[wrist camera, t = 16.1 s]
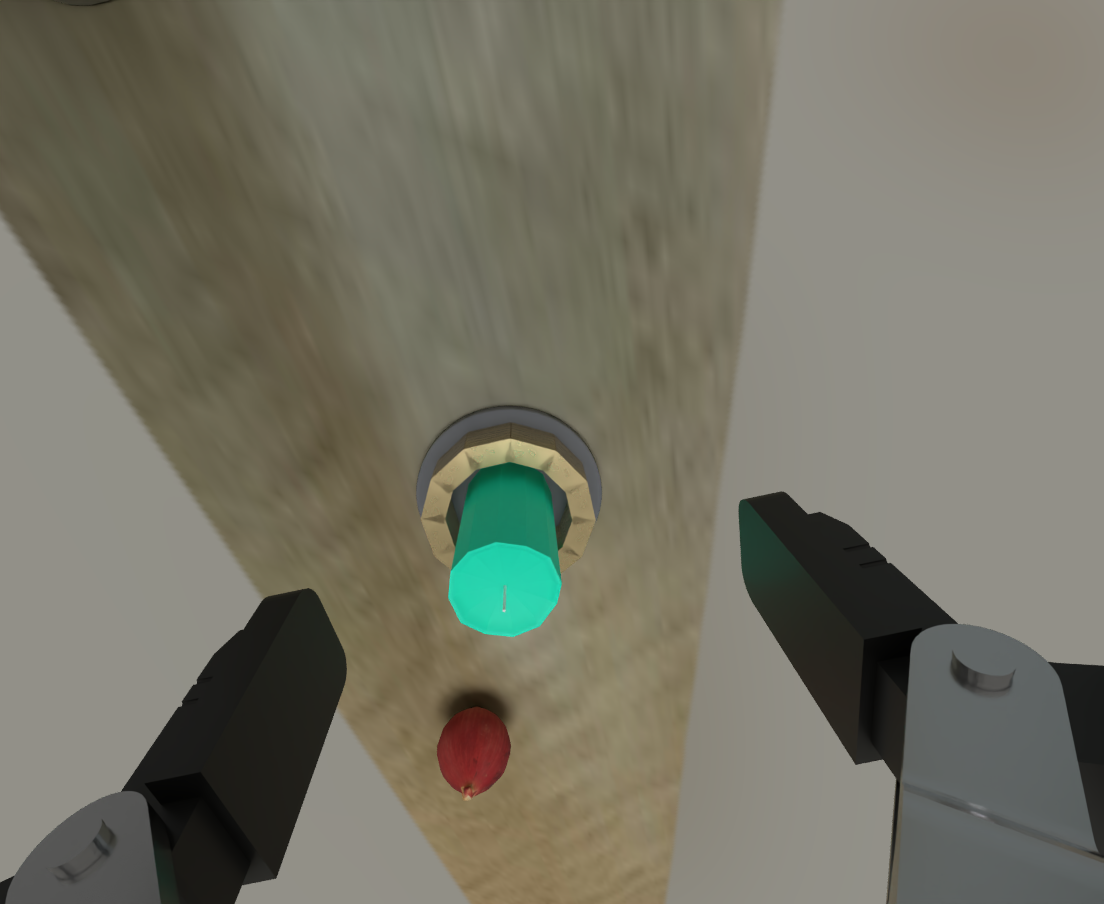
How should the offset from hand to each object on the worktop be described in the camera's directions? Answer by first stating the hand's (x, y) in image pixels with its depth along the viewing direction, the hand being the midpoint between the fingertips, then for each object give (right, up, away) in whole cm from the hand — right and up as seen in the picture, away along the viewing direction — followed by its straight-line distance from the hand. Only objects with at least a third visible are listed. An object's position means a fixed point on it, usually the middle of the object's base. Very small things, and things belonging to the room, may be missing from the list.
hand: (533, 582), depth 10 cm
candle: (-3, -1, +28) cm, 28 cm away
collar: (-3, 0, +28) cm, 28 cm away
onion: (-6, -20, +37) cm, 42 cm away
